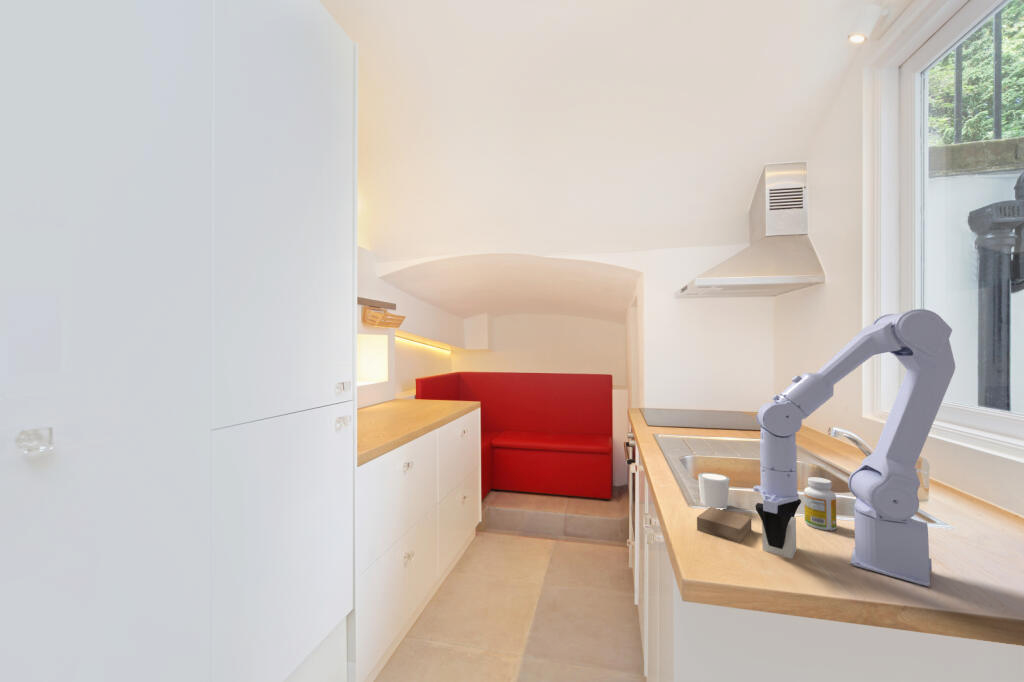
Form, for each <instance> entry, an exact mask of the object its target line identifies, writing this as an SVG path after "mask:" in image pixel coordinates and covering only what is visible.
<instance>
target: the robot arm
mask: <svg viewBox="0 0 1024 682" xmlns="http://www.w3.org/2000/svg"><path fill="white" fill-rule="evenodd" d="M952 332H953V328H952V327H950V325H949V324H948V323H947V322H946V321H945V320H944V319H943V318H942V317H941V316H940V315H939V314H937V313H936V312H934V311H932V310H929V309H926V308H925V309H923V308H918V309H911V310H908V311H905V312H904V311H903V312H899V313H889V314H888V313H887V314H884V315H881V316H879V317H878V318H876V319H875V320H874V321H873V322H872V323H871V324H868V325H867V326H866V327H864V328H862V329H861V330H860V331H859V332H858V333H857V334H856V335H855V336H853V338H852V339H850V340H849V342H847V344H845V345H844V346H843V347H842V348H841V349H840V350H839V351H838V352H837V353H835V354H834V356H832V357H831V358H830V359H829V360H827V362H826V363H825V364H824V365H823V366H822V367H820V369H819V370H818V371H816V372H804V373H803V374H802V375H798V374H797V375H794V376H793V377H792V378H791V381H792V382H791V384H790V385H788V386H787V387H786V388H785V389H784V390H782V391H781V392H780V393H779V394H774V395H773V396H771V400H773V401H771V402H766V403H764V404H762V405H761V407H759V409H758V410H757V412H758V413H757V414H756V415H755V419H756V422H757V424H758V425H759V426H760V435H759V436H760V440H759V462H760V463H759V464H760V467H759V468H760V472H759V473H760V485H754V486H753V491H754V492H756V493H759V494H760V496H761V498H762V500H763V501H762V502H761V503H760V502H757V503H756V504H755V510H756V512H757V514H758V515H759V518H760V520H761V523H762V522H763V525H764V529H765V533H766V537H767V541H768V544H769V546H772V547H776V548H779V549H782V548H783V546H784V542H785V537H786V530H787V526H788V523H789V521H790V519H791V517H795V514H796V512H797V510H798V508H799V506H800V505H801V504H802V500H801V499H800V498H799V495H800V494H799V493H798V466H797V465H798V463H797V461H798V460H797V458H798V457H797V444H796V443H797V440H796V436H797V435H796V434H797V433H798V432H799V431H800V430H801V428H802V425H803V424H802V423H803V420H806V419H807V418H808V417H809V416H810V415H812V414H813V413H814V412H816V410H818V409H819V408H820V407H821V406H823V405H824V404H825V403H826V402H827V401H828V400H830V399H831V398H832V397H834V387H835V385H836V384H837V383H838V382H840V381H841V380H842V379H844V378H845V377H846V376H848V375H849V374H850V373H852V372H853V371H854V370H856V369H857V368H858V367H860V366H861V365H863V363H865V362H866V361H867V360H869V359H870V358H872V357H873V356H875V355H880V354H884V353H890V354H892V355H894V356H895V357H896V358H897V360H898V361H899V362H900V363H901V365H902V366H903V367H904V368H905V370H906V372H905V374H904V377H903V379H902V381H901V385H900V387H899V389H898V392H897V394H896V397H895V399H894V401H893V404H892V406H891V409H890V411H889V414H888V416H887V418H886V421H885V423H884V426H883V428H882V431H881V434H880V435H879V439H878V441H877V443H876V446H875V449H874V451H873V452H872V453H871V454H869V455H868V456H866V457H864V458H863V460H862V462H861V464H860V465H859V467H858V468H857V469H855V470H854V471H852V472H851V474H850V475H849V476H848V479H847V486H848V489H849V492H851V494H852V495H853V496H854V497H855V503H854V505H853V509H854V510H853V511H854V547H853V551H852V554H851V555H852V556H851V558H850V565H852V566H854V567H858V568H861V569H863V570H869V571H873V572H876V573H879V574H881V575H886V576H889V577H893V578H897V579H900V580H904V581H906V582H907V581H908V582H910V583H914V584H918V585H922V586H925V587H930V585H931V582H930V571H932V570H933V569H932V568H933V566H932V563H933V562H932V558H930V551H929V550H930V547H929V544H930V543H929V542H930V541H929V529H928V527H929V526H928V523H927V522H924V521H921V520H917V519H914V518H912V517H914V516H915V515H916V514H917V512H918V511H919V509H920V499H919V495H918V494H919V493H918V491H919V488H920V486H921V480H920V479H919V476H918V472H917V471H916V465H917V462H918V460H919V457H920V455H921V453H922V450H923V448H924V446H925V443H926V442H927V438H928V437H929V434H930V431H931V429H932V426H933V425H934V422H935V420H936V416H937V415H938V412H939V410H940V407H941V404H942V402H943V400H944V399H945V398H944V397H945V395H946V393H947V391H948V388H949V386H950V384H951V381H952V379H953V376H954V374H955V372H956V362H955V358H954V354H953V350H952V346H951V342H950V337H951V334H952Z"/></svg>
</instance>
